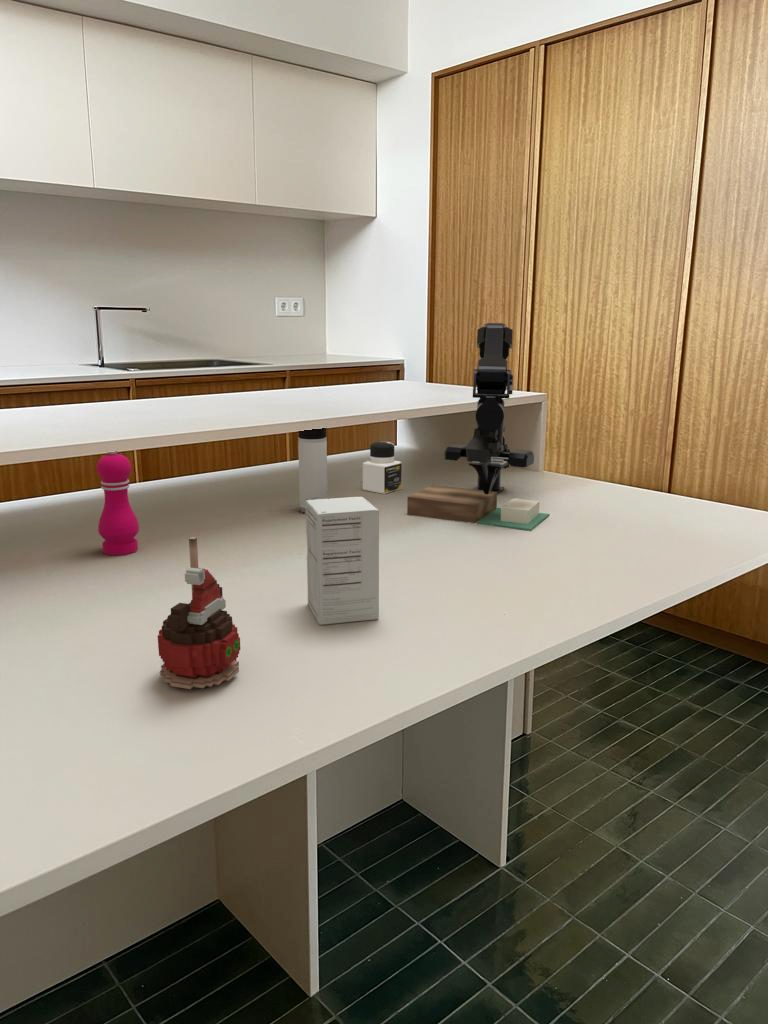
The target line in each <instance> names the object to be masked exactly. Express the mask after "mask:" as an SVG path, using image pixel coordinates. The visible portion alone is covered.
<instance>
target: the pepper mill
mask: <svg viewBox="0 0 768 1024" xmlns="http://www.w3.org/2000/svg"><path fill="white" fill-rule="evenodd" d="M118 452H119V451H115V452H108V451H107V453H108V454H105V455H103V456H102V457H100V458H99V459H98V461H97V463H96V473H97V474H98V476H99V477H100V479H102V480H101V481H100V484H101V486H100V489H102V490H103V494H104V504H103V509H102V512H101V514H100V517H99V521H98V527H97V528H98V529H97V530H98V534H99V535H100V537H101V538H102V539H103V540H104V541H103V542H102V544H101V545H102V552H103V553H104V554H105V555H108V556H126V555H129V554H134V553H135V552H137V551H138V549H139V546H138V545H139V544H138V539H136V538H135V537H136V536H137V535H138V534H139V531H140V526H139V521H138V518H137V515H136V514H135V513H134V511H133V509H132V507H131V504H130V501H129V494H128V493H129V492H128V489H129V488H130V486H131V485H130V480H129V478H128V477H129V476H130V475H131V472H132V464H131V461H130V460H129V458H128V457H126V456H125V455H123V454H120V453H118Z"/></svg>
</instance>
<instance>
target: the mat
mask: <svg viewBox="0 0 768 1024" xmlns="http://www.w3.org/2000/svg"><path fill="white" fill-rule="evenodd" d="M549 516H550V513H544V512H539V515H537V516H536V517H535V518H534V519H533V520H532V521H531V522H530V523H529V524H522V523H514V522H506V521H501V507H497V508H496V509H495V510H493V511H492V512H490V513H489V514H487V515H486V516H484V517H483V518H481V519H480V520H478V521H477V522H476V523H477V524H476V523H475V524H476V525H484V526H491V527H497V528H506V529H511V530H513V529H514V530H521V531H526V532H527V531H529V532H532V531H533V530H534V529H535V528H537V526H539V525H540V524H541V523H542V522H544V521H545V520H546V519H547V518H549Z"/></svg>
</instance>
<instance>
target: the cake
mask: <svg viewBox="0 0 768 1024" xmlns="http://www.w3.org/2000/svg"><path fill="white" fill-rule="evenodd" d="M188 546H189V562H190V563H189V564H190V567H189V568H187V569H186V570H185V572H186V573H184V581H185V583H186V584H188V585H191V599H190V602H189V603H186V602H179V603H177V604H175V605H173V606H172V607H171V608H170V614H169V615H167V616H166V617H167V618H165V619H164V620H163V621H162V625H161V629H158V635H157V645H158V647H157V648H158V649H157V650H158V656H159V657H160V659H161V660H162V663H163V664H161V665H160V668H161V669H160V670H159V675H160V677H161V680H163V683H169V685H170V687H174V688H182V689H188V690H191V689H193V688H197V689H198V688H199V689H205V687H210V688H211V687H213V685H216V686H219V685H220V684H222V682H224V681H230V680H231V679H233V677H235V676H236V675H237V674H238V673H239V672H240V668H239V666H240V663H239V661H238V660H237V659H238V658H239V654H240V651H241V637H239V633H238V626H236V624H235V623H233V616H231V614H230V613H228V610H224V609H226V607H227V605H226V604H227V603H226V599H225V598H224V595H223V587H222V586H220V583H218V581H217V579H216V578H215V577H214V576H213V574H212V573H211V572H210V571H209V569H206V568H202V567H201V568H200V567H199V559H198V558H199V556H198V555H199V554H198V553H199V552H198V538H197V537H195V536H191V537H190V538H188Z"/></svg>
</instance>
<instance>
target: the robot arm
mask: <svg viewBox="0 0 768 1024" xmlns="http://www.w3.org/2000/svg"><path fill="white" fill-rule="evenodd" d="M476 330H477V331H476V334H477V335H476V348H477V349H479V357H480V359H478V360H477V368H474V370H473V384H472V385H473V386H472V398H475V399H478V400H477V403H476V404H477V406H476V408H477V409H476V411H475V421H476V428H474V431H473V437H472V438H471V439H470V441H469V442H468V443H467V444H462V443H461V444H460V443H453V444H451V445H447V447H446V448H445V449H444V452H443V453H444V460H447V461H459V459H461V458H466V460H467V462H468V465H469V466H470V467H472V468H474V470H475V471H476V474H477V485H476V486H475V487H474V488H473V489H474V490H483V491H484V494H489V493H490V491H492V492H497V494H499V493H500V492H502V491H503V490H505V486H501V474H502V472H501V471H502V469H505V470H506V469H507V468H510V466H511V467H516V468H528V467H529V466H531V465H533V464H534V462H535V461H534V460H535V455H534V452H533V451H532V450H528V449H527V450H526V449H514V450H512V451H511V449H510V448H509V446H508V443H505V441H506V440H505V438H506V437H505V435H504V432H506V431H505V430H506V427H505V426H504V419H505V401H504V399H510V395H513V389H514V388H513V384H514V375H513V374H512V370H511V369H508V360H507V359H508V357H510V356H509V355H510V349H511V350H512V349H513V338H514V337H513V335H514V330H513V329H512V328H510V327H508V326H507V324H505V323H503V322H496V323H495V322H487V323H485V324H484V325H483V326H482V327H480V328H477V329H476Z"/></svg>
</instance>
